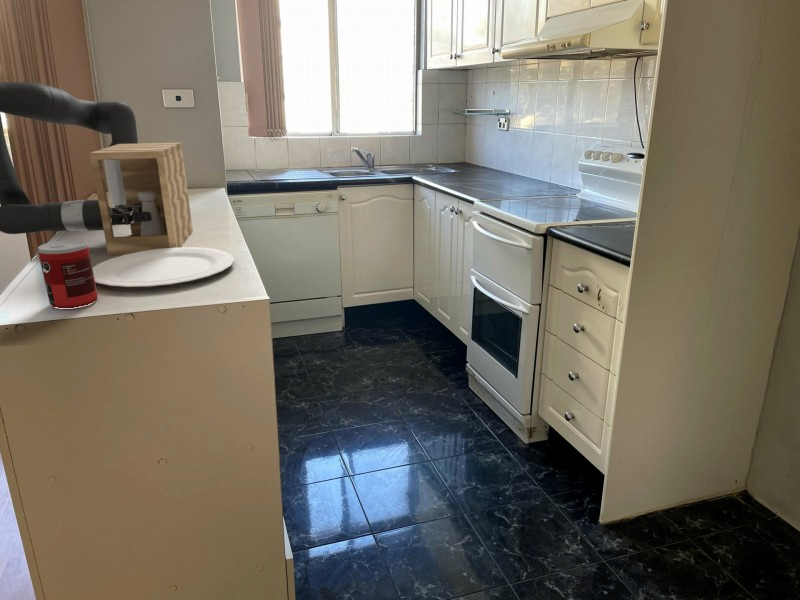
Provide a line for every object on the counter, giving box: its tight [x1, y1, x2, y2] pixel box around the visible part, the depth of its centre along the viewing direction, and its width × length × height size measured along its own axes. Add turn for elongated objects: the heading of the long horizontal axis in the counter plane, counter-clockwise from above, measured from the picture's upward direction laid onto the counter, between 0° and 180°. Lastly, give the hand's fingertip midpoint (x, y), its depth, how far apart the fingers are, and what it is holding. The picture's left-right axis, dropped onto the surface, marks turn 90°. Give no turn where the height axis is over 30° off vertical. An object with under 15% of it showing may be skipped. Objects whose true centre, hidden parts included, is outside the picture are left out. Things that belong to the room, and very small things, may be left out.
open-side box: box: [89, 142, 194, 256], centre depth 148 cm, size 22×16×24 cm
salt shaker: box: [138, 190, 167, 236], centre depth 150 cm, size 6×6×13 cm
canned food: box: [37, 239, 99, 308], centre depth 107 cm, size 8×8×11 cm
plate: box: [92, 246, 235, 289], centre depth 128 cm, size 29×29×2 cm
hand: (155, 212), depth 149 cm, fingers open, 8 cm apart
